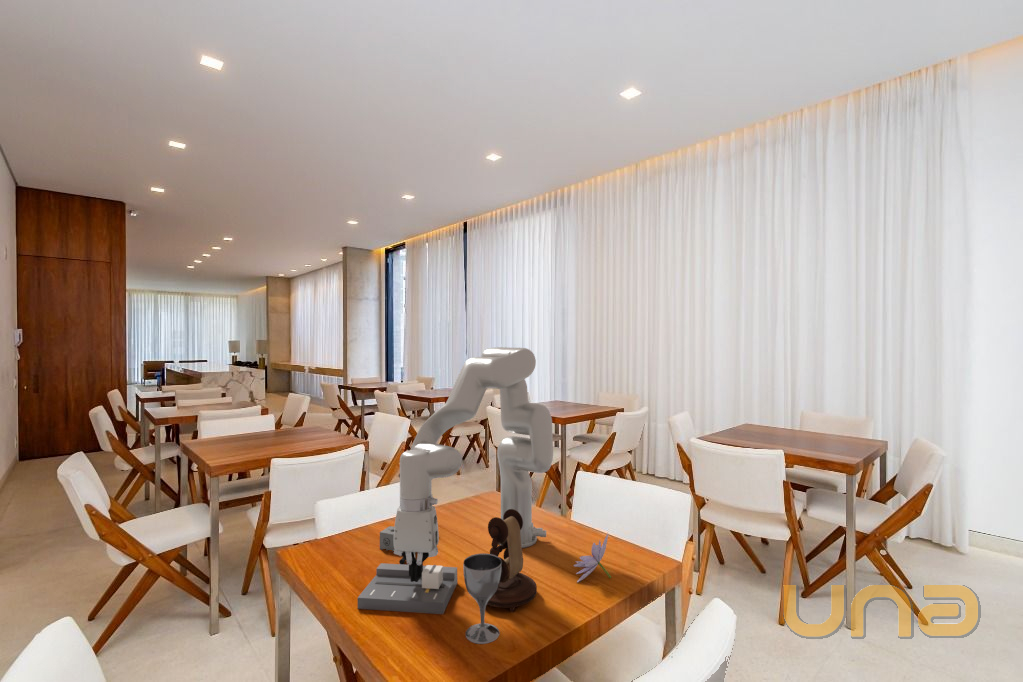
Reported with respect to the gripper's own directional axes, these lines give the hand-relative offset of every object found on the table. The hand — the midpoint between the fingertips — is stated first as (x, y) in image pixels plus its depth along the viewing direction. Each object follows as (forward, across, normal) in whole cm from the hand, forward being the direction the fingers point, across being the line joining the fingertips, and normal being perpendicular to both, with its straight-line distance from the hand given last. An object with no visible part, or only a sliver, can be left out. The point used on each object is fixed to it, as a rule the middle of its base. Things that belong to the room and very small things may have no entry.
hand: (415, 579), depth 117 cm
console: (+4, +2, 0) cm, 4 cm away
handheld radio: (+4, +9, -27) cm, 29 cm away
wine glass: (+4, -18, +13) cm, 23 cm away
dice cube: (+4, +16, -26) cm, 31 cm away
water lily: (+4, -42, -16) cm, 45 cm away
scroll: (+4, -22, -2) cm, 22 cm away
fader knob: (+1, -4, 0) cm, 4 cm away
